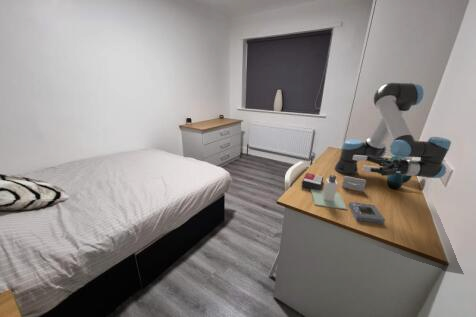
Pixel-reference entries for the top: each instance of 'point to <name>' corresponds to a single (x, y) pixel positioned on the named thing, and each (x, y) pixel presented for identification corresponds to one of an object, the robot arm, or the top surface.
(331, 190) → the plug
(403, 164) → the robot arm
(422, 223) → the top surface
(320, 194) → the mat
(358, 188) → the cassette
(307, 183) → the calculator
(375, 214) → the socket
